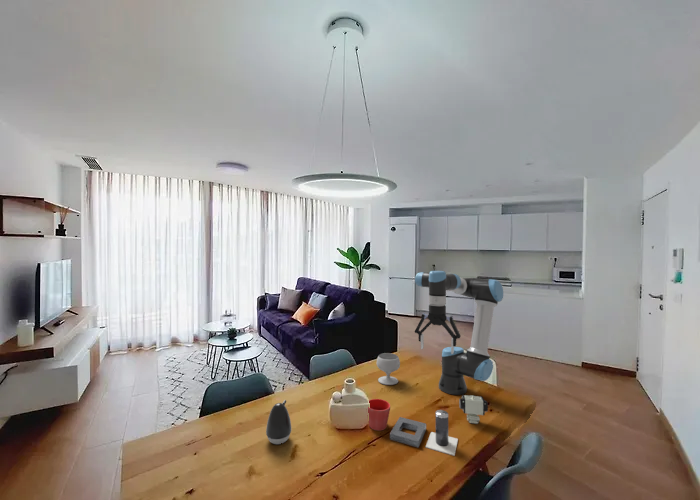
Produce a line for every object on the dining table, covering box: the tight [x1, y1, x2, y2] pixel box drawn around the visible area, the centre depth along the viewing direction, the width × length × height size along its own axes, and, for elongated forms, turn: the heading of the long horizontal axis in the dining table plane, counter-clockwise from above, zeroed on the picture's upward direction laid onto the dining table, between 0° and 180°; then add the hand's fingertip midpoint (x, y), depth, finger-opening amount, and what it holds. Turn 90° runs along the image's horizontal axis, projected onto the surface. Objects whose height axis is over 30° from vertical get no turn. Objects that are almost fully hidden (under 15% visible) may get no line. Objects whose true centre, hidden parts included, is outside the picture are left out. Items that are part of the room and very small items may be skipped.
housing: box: [389, 416, 427, 448], centre depth 131 cm, size 14×12×2 cm
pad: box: [425, 431, 459, 457], centre depth 125 cm, size 11×11×1 cm
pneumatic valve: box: [458, 394, 489, 425], centre depth 141 cm, size 6×12×12 cm, turn 78°
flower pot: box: [368, 398, 391, 432], centre depth 137 cm, size 11×11×10 cm
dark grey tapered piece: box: [265, 399, 292, 445], centre depth 126 cm, size 10×10×15 cm
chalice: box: [376, 352, 401, 386], centre depth 183 cm, size 14×14×15 cm
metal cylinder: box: [435, 409, 449, 446], centre depth 125 cm, size 5×5×12 cm
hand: (436, 350), depth 140 cm, fingers open, 13 cm apart
